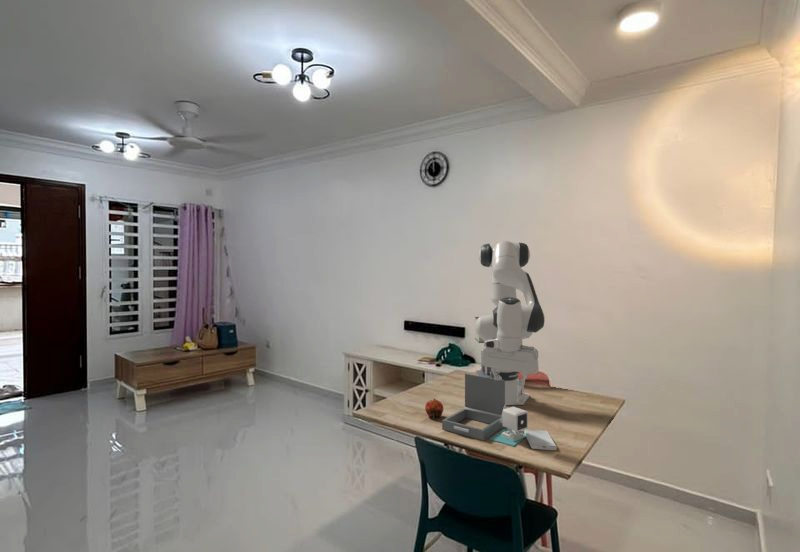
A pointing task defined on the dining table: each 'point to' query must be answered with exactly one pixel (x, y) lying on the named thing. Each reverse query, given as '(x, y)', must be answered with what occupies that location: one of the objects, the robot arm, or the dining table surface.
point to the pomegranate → (434, 408)
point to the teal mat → (503, 440)
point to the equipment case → (479, 407)
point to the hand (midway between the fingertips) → (509, 382)
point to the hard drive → (540, 440)
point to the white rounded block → (514, 423)
